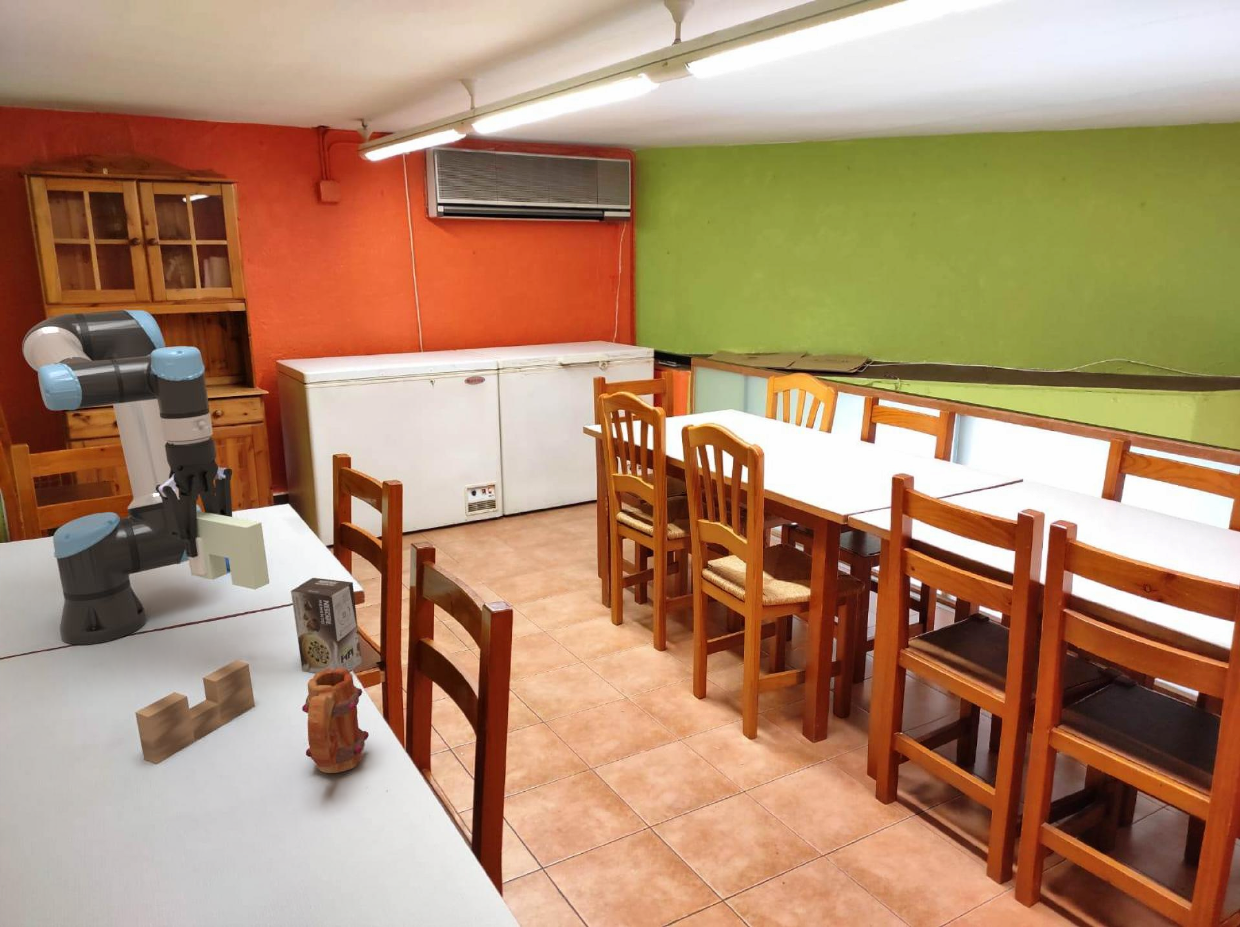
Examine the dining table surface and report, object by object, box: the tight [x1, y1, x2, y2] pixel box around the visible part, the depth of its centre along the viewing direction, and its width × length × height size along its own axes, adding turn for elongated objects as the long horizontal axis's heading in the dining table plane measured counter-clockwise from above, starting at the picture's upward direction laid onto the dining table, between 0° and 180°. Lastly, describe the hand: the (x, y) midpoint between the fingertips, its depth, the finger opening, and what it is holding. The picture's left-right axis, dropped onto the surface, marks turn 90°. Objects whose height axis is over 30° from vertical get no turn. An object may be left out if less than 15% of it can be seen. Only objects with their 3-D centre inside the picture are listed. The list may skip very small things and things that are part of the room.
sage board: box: [188, 510, 270, 590], centre depth 145 cm, size 16×3×11 cm, turn 63°
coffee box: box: [290, 577, 362, 674], centre depth 154 cm, size 9×6×16 cm
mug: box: [301, 668, 370, 774], centre depth 122 cm, size 15×8×15 cm, turn 5°
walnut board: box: [135, 659, 256, 765], centre depth 135 cm, size 18×3×8 cm, turn 153°
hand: (209, 568), depth 148 cm, fingers closed on sage board, 3 cm apart
